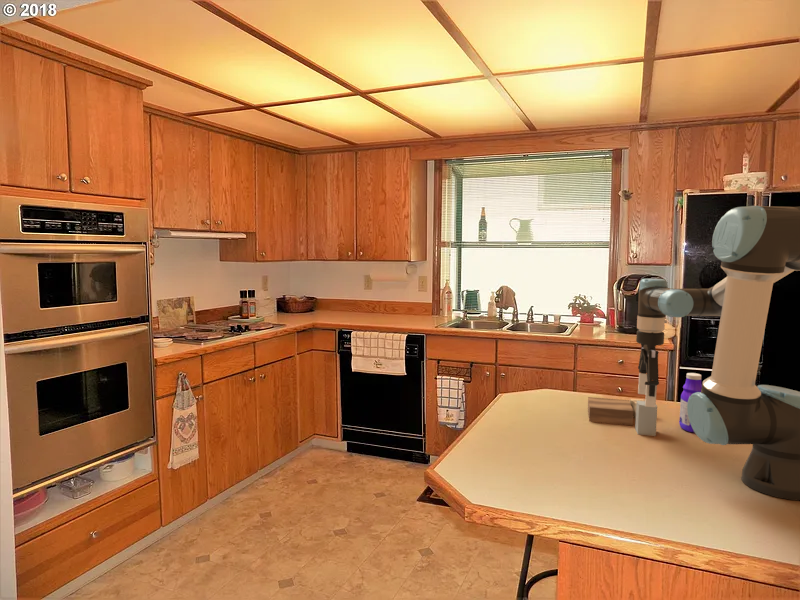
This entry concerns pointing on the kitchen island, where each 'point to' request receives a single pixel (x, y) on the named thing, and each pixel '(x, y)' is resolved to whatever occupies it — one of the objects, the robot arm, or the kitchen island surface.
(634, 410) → the maple cube
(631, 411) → the walnut block
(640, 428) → the pale gray block
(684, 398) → the bottle
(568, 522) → the kitchen island surface
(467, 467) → the kitchen island surface
